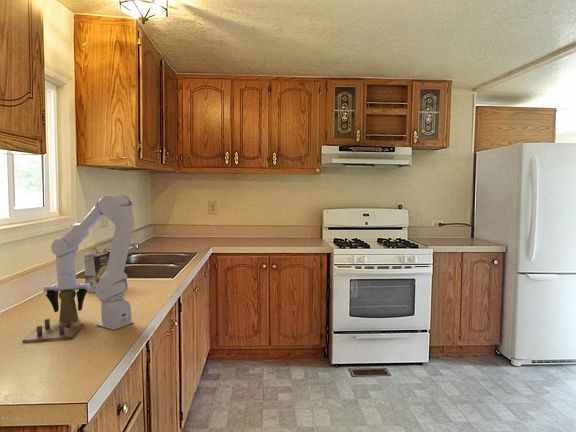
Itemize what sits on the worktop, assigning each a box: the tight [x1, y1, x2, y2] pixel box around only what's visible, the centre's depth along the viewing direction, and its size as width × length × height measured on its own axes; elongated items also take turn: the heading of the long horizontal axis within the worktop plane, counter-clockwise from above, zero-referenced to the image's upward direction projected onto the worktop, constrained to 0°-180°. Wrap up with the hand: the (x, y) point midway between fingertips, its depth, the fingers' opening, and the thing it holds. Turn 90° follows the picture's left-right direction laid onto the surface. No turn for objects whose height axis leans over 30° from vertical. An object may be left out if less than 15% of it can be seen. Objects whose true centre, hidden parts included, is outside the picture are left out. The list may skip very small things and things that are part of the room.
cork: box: [58, 290, 80, 324], centre depth 145 cm, size 6×6×11 cm
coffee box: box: [83, 252, 110, 293], centre depth 184 cm, size 9×6×16 cm
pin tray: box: [22, 317, 85, 344], centre depth 132 cm, size 14×12×4 cm
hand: (68, 310), depth 145 cm, fingers open, 7 cm apart
